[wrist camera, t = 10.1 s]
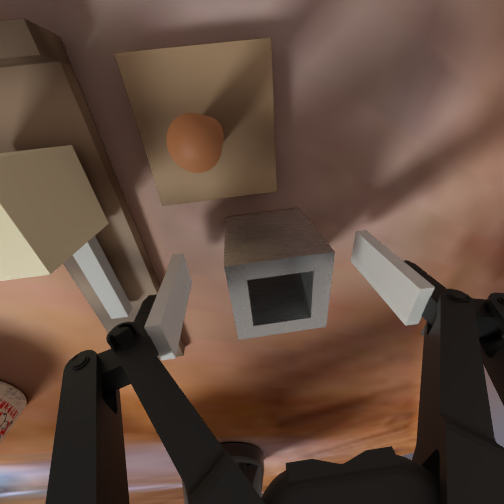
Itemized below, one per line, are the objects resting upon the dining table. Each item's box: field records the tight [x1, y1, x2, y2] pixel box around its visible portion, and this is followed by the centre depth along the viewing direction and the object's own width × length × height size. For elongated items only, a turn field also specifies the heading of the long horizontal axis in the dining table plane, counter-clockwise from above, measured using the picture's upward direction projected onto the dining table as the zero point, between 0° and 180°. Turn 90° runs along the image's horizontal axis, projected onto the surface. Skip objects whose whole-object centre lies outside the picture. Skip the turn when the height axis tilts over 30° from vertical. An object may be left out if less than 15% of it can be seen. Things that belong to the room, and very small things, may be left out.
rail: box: [0, 19, 185, 359], centre depth 17 cm, size 26×6×2 cm, turn 5°
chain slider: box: [0, 145, 132, 319], centre depth 14 cm, size 13×4×6 cm, turn 6°
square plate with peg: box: [114, 38, 277, 206], centre depth 11 cm, size 8×8×8 cm
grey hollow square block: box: [224, 208, 335, 340], centre depth 16 cm, size 6×6×7 cm
